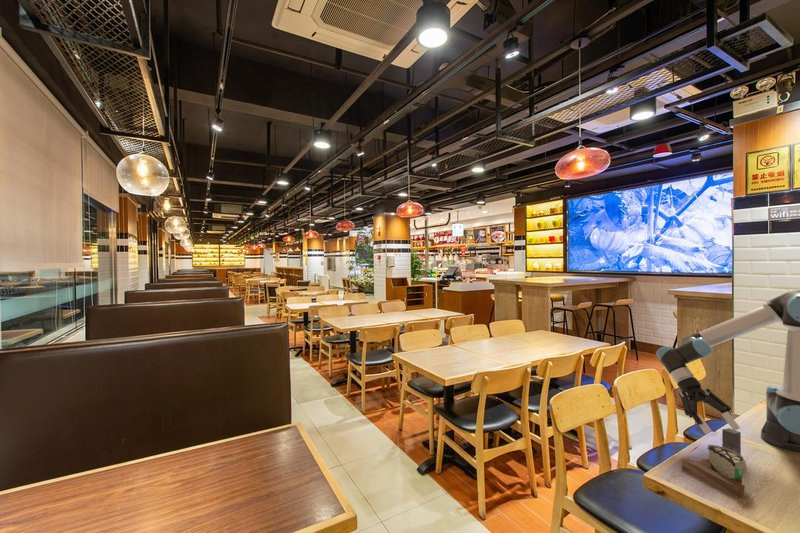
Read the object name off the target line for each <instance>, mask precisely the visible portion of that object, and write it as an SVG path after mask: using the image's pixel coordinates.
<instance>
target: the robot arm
mask: <svg viewBox="0 0 800 533" xmlns="http://www.w3.org/2000/svg"><path fill="white" fill-rule="evenodd" d="M775 323H781V324H782V325H783V326H784V327H785V328H786V329H787V334H786V335H787V336H786V344H785V346H786V347H785V348H786V349H785V356H784V367H783V380H782V386H779V385H768V386H767V387H766V391H765V396H766V419H765V422H764V423H763V426H762V428H761V430H760V438H761V439H762V440H764V441H765V442H767V443H769V444H771V445H773V446H776V447H778V448H780V449H781V448H782V449H786V450H789V451H794V452H798V453H799V452H800V289H799V290H791V291H787V292H784V293H783V294H780V295H779V296H776V297H775V298H772V299H770V300H768V301H765V302H763V304H762V306H760V307H758V308H755V309H752V310H750V311H747V312H745V313H743V314H739V315H737V316H735V317H733V318H730V319H728V320H725V321H722V322H721V323H718V324H715V325H713V326H711V327H709V328H706V329H703V330H701V331H698V332H696V333H694V334H693V333H692V334H688V335H685V336H683V337H682V339H681V345H679V346H677V347H673V346H671V345H665V346H662V347H660V348H658V349H657V350H656V352H655V354H656V356H657V358H658V359H659V361H660V363H661V364H662V366H663V367H664V368H665V369H666V371H667V372H668V374H669V375H670V376H671V379H673V381H674V382H675V383H676V385H677V386H678V389H680V392H678V396H679V397H680V399H681V403H682V407H683V412H684V415H685V416H686V417H687V416H688V417H689V418H690V419H691V418H693V420H694V421H695V422H696V425H698V426H699V427H700V428H701V430H702V432H703V433H704V434H705V435H707V434H709V433H711V432H713V431H712V429H711V428H710V426H709V425H708V423H707V422H706V421H705V419H704V418H703V416H702V415H701V414H698V403H704V404H707V405H709V406H711V407H712V408H713V409H715V410H717V411H718V412H720V413H721V414H720V415H721V416H722V417H723V419H724V420H725V422H727V424H728V425H729V428H730V429H733V430H736V431H738V430H739V429H741V426H739V424H738V422H736V420H735V417H733V415H732V414H731V413H730V411H731V410H732V408H731V407H730V406H729V405H728V404H727V403H726V402H724V401H723V399H720V397H718V395H716V394H714V393H713V391H712V390H711V389H709V388H706V389H702V384H701V382H699V381H698V379H697V378H696V377H695V375H694V373H693V372H692V371H691V370H690V368H689V367H688V366H687V364H689V363H692V362H694V361H697V360H699V359H702V358H704V357H707V356H709V355H711V354H712V353H713V352H714V350H713V349H714V348H712V347H715V346H717V345H720V344H723V343H725V342H727V341H730V340H733V339H736V338H738V337H740V336H744V335H746V334H749V333H752V332H753V331H756V330H760V329H762V328H764V327H767V326H770V325H772V324H773V325H774V324H775Z"/></svg>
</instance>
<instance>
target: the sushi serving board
mask: <svg viewBox="0 0 800 533" xmlns="http://www.w3.org/2000/svg"><path fill="white" fill-rule="evenodd" d="M721 432H722V433H721V434H722V436H721V437H722V438H721V440H722V444H721V445H722V446H721V447H724V448H728V449H730V450H733V451H735V452H737V453H739V454H740V455H741V456H742V453H741V451H742V448H741V447H742V446H741V445H742V442H741V441H742V440H741V439H742V438H741V431H738V430H733V429H732V428H731V427H729V428H724V429H722V430H721ZM681 469H682V470H684V471H686V472H688V473H690V474H691V475H694V476H696V477H697V478H700V479H701V480H704V481H706V482H707V483H709V484H712V485H713V486H715V487H716V488H719V489H721V490H723V491H724V492H726V493H728V494H730V495H732V496H734V497H736V498H738V499H739V498H742V497H745V485H744V484H743V483H742V484H740V483H738V482H736V481H734V480H732V479H730V478H728V477H726V476H724V475H722V474H720V473H718V472H716V471H714V470H711V469H710V457H708V458H705V459H701V460H697V461H695V460H694V459H691V458H689V457H685V458H681Z"/></svg>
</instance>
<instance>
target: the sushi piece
mask: <svg viewBox="0 0 800 533" xmlns="http://www.w3.org/2000/svg"><path fill="white" fill-rule="evenodd" d="M707 450H708V454H709V455H708V456H709V457H708V458H710V469H711V470H714V471H716V472H718V473H720V474H722V475H724V476H726V477H728V478H730V479H732V480H734V481H736V482H738V483H740V484H742V485H743V483H742V482H743V474H744V469H745V468H747V463H746V460H745V458H744V457H743V456H742V454H741V455H740V454H739V453H737V452H735V451H733V450H730V449H728V448H724V447H722V446H719V445H715V444H708V446H707Z"/></svg>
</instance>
